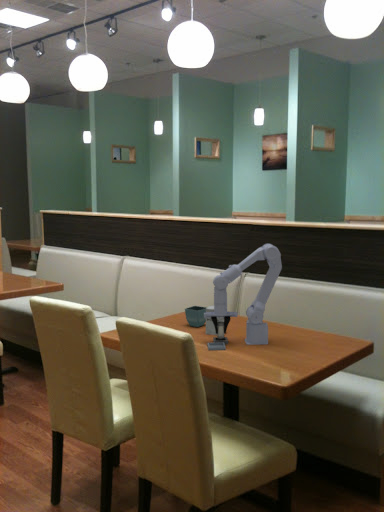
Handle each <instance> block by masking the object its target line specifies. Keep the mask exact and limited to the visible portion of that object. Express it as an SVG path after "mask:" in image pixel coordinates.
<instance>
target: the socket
mask: <svg viewBox="0 0 384 512" xmlns="http://www.w3.org/2000/svg"><path fill="white" fill-rule="evenodd" d="M212 340H213V342H212V343H217V342H224V344H225V346H226V345H229V340H228V337H227V336H224V339H218V338H217V336H213V339H212Z"/></svg>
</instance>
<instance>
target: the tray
mask: <svg viewBox="0 0 384 512" xmlns="http://www.w3.org/2000/svg"><path fill="white" fill-rule="evenodd" d="M206 346H207V349H208V351H227V347H226V345H225V344H224V342H217V343H214V342H207V345H206Z"/></svg>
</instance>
